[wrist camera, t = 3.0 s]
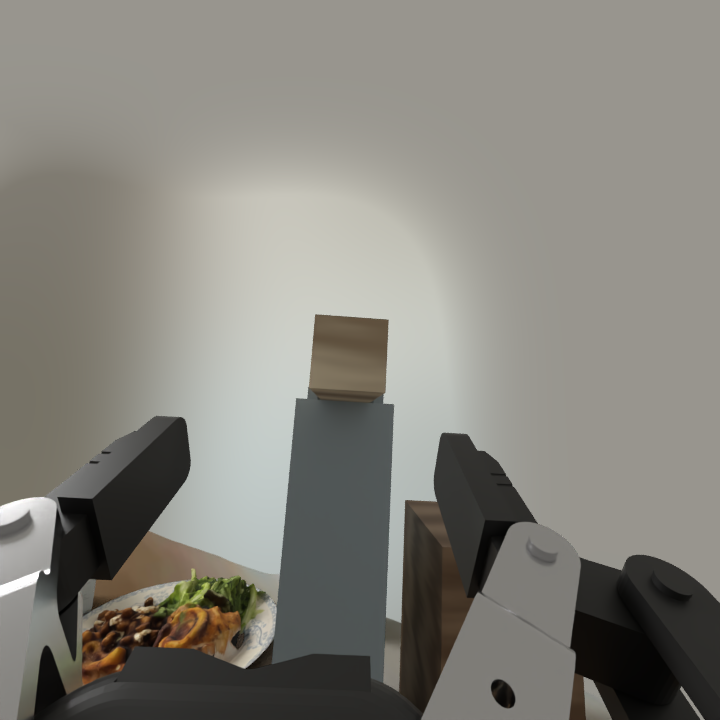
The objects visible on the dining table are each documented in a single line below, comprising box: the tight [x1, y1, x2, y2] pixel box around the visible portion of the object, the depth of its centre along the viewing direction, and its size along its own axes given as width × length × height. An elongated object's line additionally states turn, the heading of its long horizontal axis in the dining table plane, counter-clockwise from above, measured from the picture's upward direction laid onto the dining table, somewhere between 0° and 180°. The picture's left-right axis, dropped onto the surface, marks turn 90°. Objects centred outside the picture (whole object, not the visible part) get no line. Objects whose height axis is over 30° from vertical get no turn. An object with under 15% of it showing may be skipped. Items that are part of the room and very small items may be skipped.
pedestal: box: [272, 387, 394, 683], centre depth 33 cm, size 18×8×33 cm, turn 3°
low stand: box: [399, 500, 586, 720], centre depth 33 cm, size 16×11×21 cm
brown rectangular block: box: [309, 315, 388, 403], centre depth 31 cm, size 26×4×4 cm, turn 3°
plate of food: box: [82, 569, 277, 685], centre depth 45 cm, size 28×28×6 cm
